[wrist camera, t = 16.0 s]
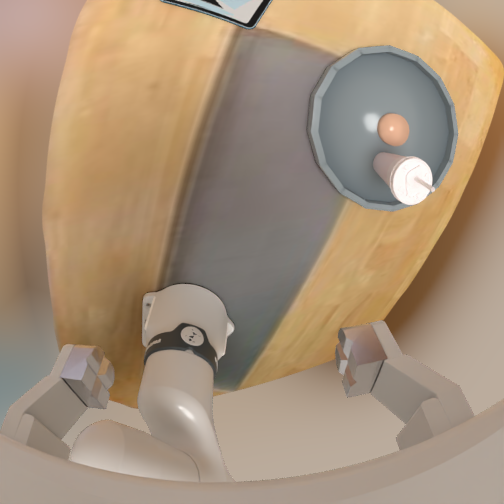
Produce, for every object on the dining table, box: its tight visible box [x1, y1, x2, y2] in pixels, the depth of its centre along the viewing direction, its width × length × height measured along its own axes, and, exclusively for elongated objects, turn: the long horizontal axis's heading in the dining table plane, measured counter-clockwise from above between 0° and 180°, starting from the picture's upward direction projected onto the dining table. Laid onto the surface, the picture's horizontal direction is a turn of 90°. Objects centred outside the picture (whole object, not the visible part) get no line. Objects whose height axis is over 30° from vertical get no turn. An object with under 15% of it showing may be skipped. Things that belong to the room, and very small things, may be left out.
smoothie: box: [373, 152, 435, 205], centre depth 33 cm, size 6×6×14 cm
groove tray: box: [307, 45, 458, 211], centre depth 36 cm, size 26×26×2 cm
